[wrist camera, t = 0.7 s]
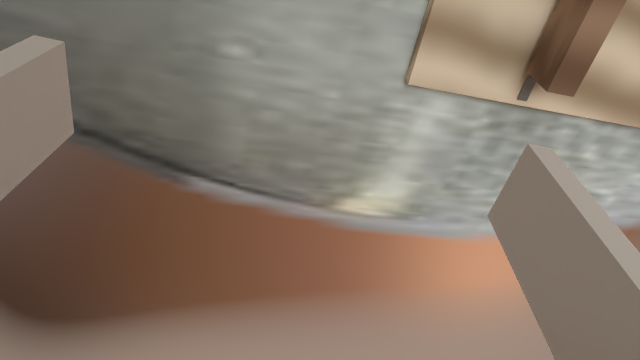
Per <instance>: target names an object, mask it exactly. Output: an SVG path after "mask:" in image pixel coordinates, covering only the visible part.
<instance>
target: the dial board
mask: <svg viewBox="0 0 640 360" xmlns="http://www.w3.org/2000/svg"><path fill="white" fill-rule="evenodd" d="M558 2H559V0H429V3H428V6H427V10H426V13H425V16H424V19H423V23H422V26H421V29H420V32H419V36H418V39H417V42H416V45H415V49H414V52H413V55H412V58H411V62H410V65H409V68H408V72H407V75H406V80H407V83H408V85H414V86H419V87H424V88H430V89H435V90H440V91H446V92H451V93H456V94H462V95H467V96H472V97H478V98H483V99H488V100H494V101H499V102H504V103H510V104H515V105H520V106H526V107H531V108H536V109H542V110H547V111H553V112H558V113H563V114H569V115H574V116H579V117H585V118H590V119H595V120H601V121H606V122H611V123H617V124H622V125H627V126H633V127H638V128H640V0H627V1H626V3H625V4H624V6H623V8H622V10H621V12H620V13H619V15H618V17H617V19H616V21H615V23H614V24H613V26H612V28H611V30H610V32H609V33H608V35H607V37H606V39H605V41H604V43H603V44H602V46H601V48H600V50H599V52H598V53H597V55H596V57H595V59H594V61H593V63H592V64H591V66H590V68H589V70H588V72H587V73H586V75H585V77H584V79H583V81H582V83H581V84H580V86H579V88H578V90H577V92H576V94H575V95H574V97H571V96H566V95H560V94H555V93H550V92H546V91H545V90H544V89H543V88H542V87H541V86H540V85H539V84H538V83H537V82H536V81H535V80H534V79H533V78H532V77H531V76H530V75H529V74H528V73H527V72H526V71H527V69H528V67H529V65H530V62H531V60H532V58H533V56H534V54H535V52H536V50H537V47H538V45H539V43H540V41H541V39H542V37H543V35H544V32H545V30H546V28H547V26H548V24H549V22H550V20H551V17H552V15H553V13H554V11H555V9H556V7H557V5H558Z"/></svg>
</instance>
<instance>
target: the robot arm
mask: <svg viewBox="0 0 640 360" xmlns="http://www.w3.org/2000/svg"><path fill="white" fill-rule="evenodd" d="M73 133H74V127H73V118H72V109H71V99H70V90H69V81H68V71H67V62H66V53H65V43H64V42H63V41H59V40H54V39H50V38H45V37H40V36H36V35H33V36H31V37H29V38H27V39H25V40H23V41H21V42H19V43H17V44H15V45H12V46H10V47H8V48H6V49H4V50H2V51H0V201H1V200H2V199H3V198H4V197H5V196H6V195H7V194H8V193H9V192H10V191H11V190H13V189H14V188H15V187H16V186H17V185H18V184H19V183H20V182H21V181H22V180H23V179H24V178H26V177H27V176H28V175H29V174H30V173H31V172H32V171H33V170H34V169H35V168H36V167H37V166H38V165H40V164H41V163H42V162H43V161H44V160H45V159H46V158H47V157H48V156H49V155H50V154H52V153H53V152H54V151H55V150H56V149H57V148H58V147H59V146H60V145H61V144H62V143H63V142H65V141H66V140H67V139H68V138H69V137H70V136H71V135H72V134H73ZM488 218H489V220H490V222H491V224H492V226H493V228H494V230H495V233H496V235H497V237H498V239H499V241H500V243H501V245H502V247H503V250H504V252H505V254H506V256H507V258H508V260H509V262H510V265H511V266H512V269H513V270H514V273H515V275H516V277H517V280H518V282H519V284H520V286H521V288H522V290H523V292H524V294H525V297H526V298H527V301H528V303H529V305H530V307H531V309H532V311H533V314H534V316H535V318H536V320H537V322H538V324H539V327H540V328H541V331H542V333H543V335H544V337H545V339H546V341H547V343H548V346H549V348H550V350H551V352H552V354H553V356H554V359H555V360H640V253H639V252H638V251H637V250H636V248H635V247H634V246H633V245H632V243H631V242H630V241H629V240H628V239H627V237H626V236H625V235H624V234H623V233H622V232H621V230H620V229H619V228H618V227H617V226H616V224H615V223H614V222H613V221H612V220H611V218H610V217H609V216H608V215H607V214H606V212H605V211H604V210H603V209H602V208H601V206H600V205H599V204H598V203H597V202H596V201H595V199H594V198H593V197H592V196H591V195H590V193H589V192H588V191H587V190H586V189H585V187H584V186H583V185H582V184H581V183H580V181H579V180H578V179H577V178H576V177H575V176H574V174H573V173H572V172H571V171H570V170H569V168H568V167H567V166H566V165H565V164H564V162H563V161H562V160H561V159H560V158H559V156H558V155H557V154H556V153H555V152H554V151H553V149H551V148H546V147H541V146H537V145H532V144H527V146H526V148H525V150H524V151H523V153H522V155H521V157H520V158H519V160H518V162H517V164H516V166H515V167H514V169H513V171H512V173H511V175H510V176H509V178H508V180H507V182H506V184H505V185H504V187H503V189H502V191H501V193H500V194H499V196H498V198H497V200H496V201H495V203H494V205H493V207H492V209H491V210H490V212H489V214H488Z"/></svg>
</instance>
